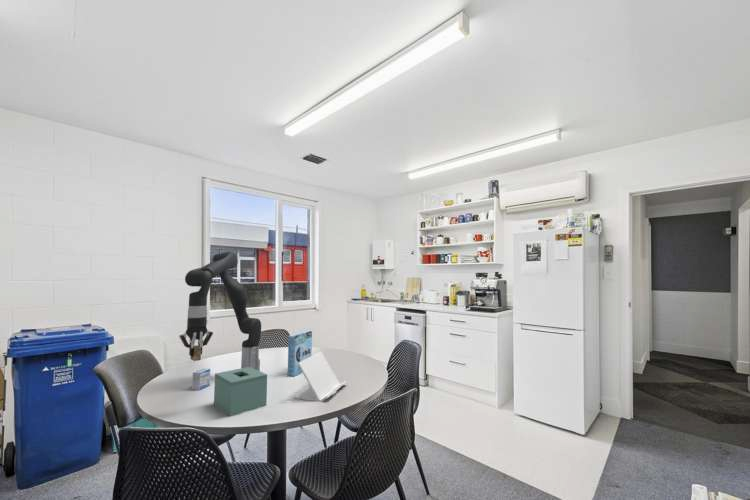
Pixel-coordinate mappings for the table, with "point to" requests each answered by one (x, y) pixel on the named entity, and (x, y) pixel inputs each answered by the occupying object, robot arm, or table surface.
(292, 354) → the gum box
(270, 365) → the table surface
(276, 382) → the table surface
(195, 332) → the robot arm
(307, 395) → the tablet stand
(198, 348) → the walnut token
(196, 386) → the medicine box
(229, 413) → the box
